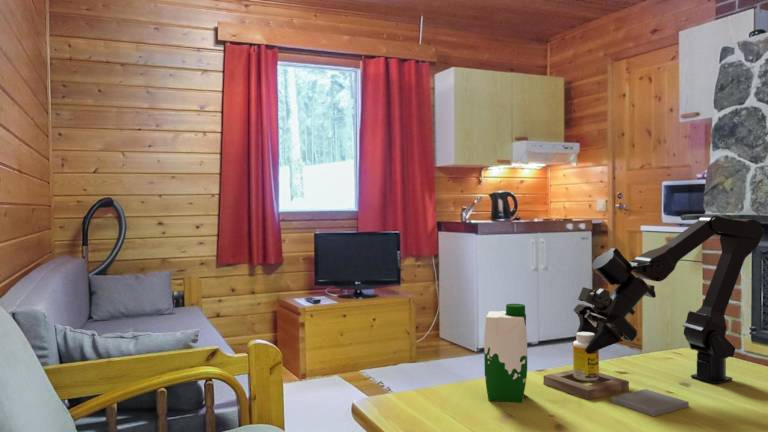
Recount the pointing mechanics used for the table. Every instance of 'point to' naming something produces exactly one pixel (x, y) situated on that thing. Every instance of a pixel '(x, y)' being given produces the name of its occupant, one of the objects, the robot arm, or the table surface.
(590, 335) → the supplement bottle
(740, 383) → the table surface
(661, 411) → the slate mat
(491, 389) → the milk carton
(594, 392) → the walnut holder
